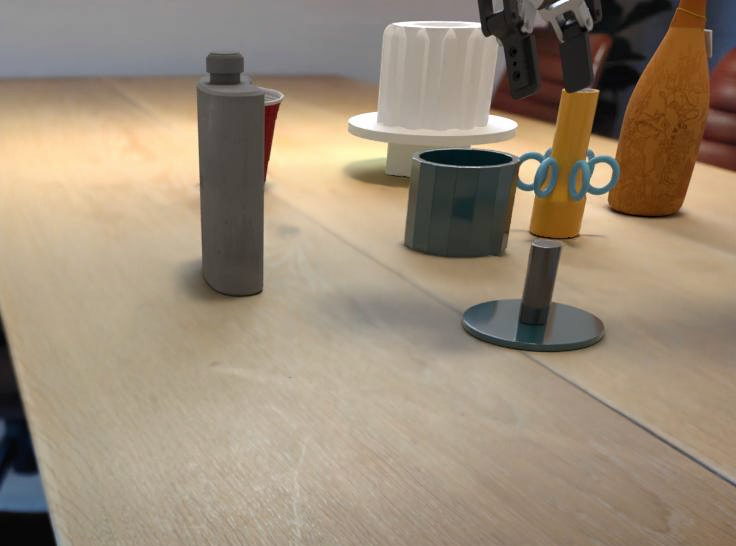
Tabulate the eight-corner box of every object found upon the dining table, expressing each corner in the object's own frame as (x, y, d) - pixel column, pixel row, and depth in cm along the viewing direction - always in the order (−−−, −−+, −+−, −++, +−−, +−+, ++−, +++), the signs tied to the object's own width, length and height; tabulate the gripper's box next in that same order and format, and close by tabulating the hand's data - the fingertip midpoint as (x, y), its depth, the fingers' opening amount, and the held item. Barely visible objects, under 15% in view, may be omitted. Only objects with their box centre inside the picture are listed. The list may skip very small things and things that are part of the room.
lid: (615, 325, 84) (636, 236, 79) (582, 368, 75) (603, 272, 71) (486, 304, 89) (499, 219, 84) (441, 342, 80) (452, 250, 76)
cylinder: (544, 217, 117) (569, 81, 108) (618, 232, 111) (651, 90, 102) (488, 233, 110) (509, 90, 101) (563, 250, 104) (592, 99, 95)
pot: (518, 243, 107) (533, 153, 101) (486, 268, 99) (500, 171, 93) (425, 231, 111) (434, 144, 105) (387, 253, 103) (395, 160, 97)
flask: (198, 256, 102) (190, 45, 90) (249, 255, 103) (248, 44, 90) (208, 297, 90) (201, 60, 78) (266, 295, 91) (268, 60, 79)
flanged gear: (478, 196, 126) (500, 34, 115) (318, 178, 136) (323, 26, 125) (530, 166, 144) (554, 22, 132) (384, 152, 153) (395, 16, 142)
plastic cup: (225, 197, 126) (223, 97, 119) (197, 182, 134) (193, 88, 126) (295, 190, 129) (297, 93, 122) (264, 176, 137) (264, 84, 130)
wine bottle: (682, 221, 115) (762, -80, 97) (601, 214, 118) (665, -80, 100) (682, 204, 123) (757, -78, 104) (606, 198, 125) (667, -78, 107)
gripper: (515, -198, 59) (554, 80, 64) (614, -174, 67) (641, 70, 73) (421, -134, 64) (464, 117, 70) (523, -119, 73) (555, 104, 78)
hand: (554, 93), depth 71 cm, fingers open, 8 cm apart
